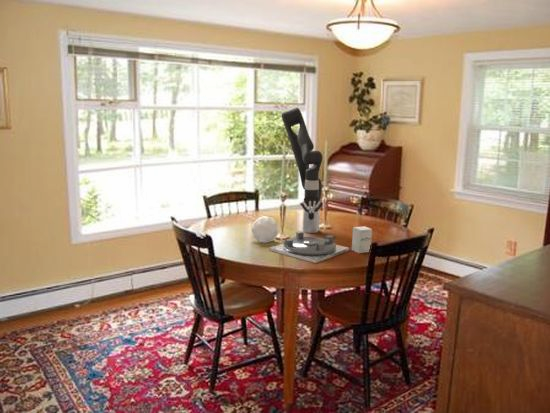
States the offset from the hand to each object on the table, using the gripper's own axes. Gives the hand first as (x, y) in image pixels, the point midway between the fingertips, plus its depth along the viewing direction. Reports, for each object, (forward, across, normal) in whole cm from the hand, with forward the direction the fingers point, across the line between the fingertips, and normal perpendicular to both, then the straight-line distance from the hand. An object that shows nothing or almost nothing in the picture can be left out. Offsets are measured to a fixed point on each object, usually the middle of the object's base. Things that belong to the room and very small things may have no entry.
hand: (311, 219), depth 274 cm
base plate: (+14, -3, -12) cm, 18 cm away
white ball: (+14, -24, +7) cm, 29 cm away
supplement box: (+15, +24, -15) cm, 32 cm away
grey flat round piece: (+12, -3, -12) cm, 17 cm away
